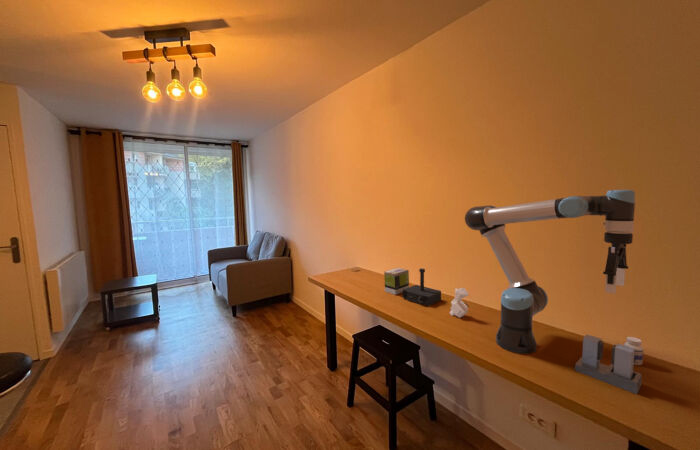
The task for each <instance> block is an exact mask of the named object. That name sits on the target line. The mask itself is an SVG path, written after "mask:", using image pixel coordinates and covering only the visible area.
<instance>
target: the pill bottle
mask: <svg viewBox="0 0 700 450" xmlns="http://www.w3.org/2000/svg"><path fill="white" fill-rule="evenodd" d="M642 342H643V341H642V339H639V338H637V337H634V336H627V337H626V341H625V342H624V343H623V345H625V346H628V347H631V348H635V350H634V365H635V366H641V365H643V363H644V362H643V359H644V346H642V344H643V343H642Z"/></svg>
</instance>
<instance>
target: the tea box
mask: <svg viewBox="0 0 700 450" xmlns="http://www.w3.org/2000/svg"><path fill="white" fill-rule="evenodd" d="M409 271H410V270H409V269H407V268H401V267H395V268H393V269H388V270H385V271H383V274H384V292H385V293H387V292H388V294H390V293H391V295H394V296H396V295H399V294H403V289H406V288H409V287H410V277H409V276H410V274H409V273H410V272H409Z"/></svg>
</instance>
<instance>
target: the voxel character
mask: <svg viewBox="0 0 700 450" xmlns="http://www.w3.org/2000/svg"><path fill="white" fill-rule="evenodd" d="M469 294H470V293H469V292H468V290H467V289H466V288H465V287H460V288H454V298H453V299H452V300H451V302H450V303H451V307H450V311H449V312H448V313H449V314H450V315H451V317H452V316H455V317H456V316H457V317H458V319H460V318H463V317H464V316H466V315H467V314H468V312H469V310H468V309H469V307H468V305H466V304H465V303H464V301H463V299H465V298H466V297H468V296H469Z"/></svg>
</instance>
